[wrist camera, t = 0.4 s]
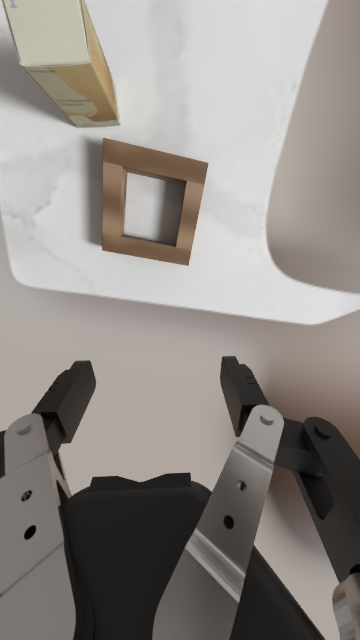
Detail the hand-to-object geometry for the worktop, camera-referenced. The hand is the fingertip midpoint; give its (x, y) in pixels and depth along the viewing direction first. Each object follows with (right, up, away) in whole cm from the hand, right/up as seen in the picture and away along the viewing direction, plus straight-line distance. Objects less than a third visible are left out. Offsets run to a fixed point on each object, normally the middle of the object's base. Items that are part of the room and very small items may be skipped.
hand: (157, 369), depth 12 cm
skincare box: (-10, +32, +15) cm, 37 cm away
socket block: (-3, +21, +20) cm, 29 cm away
